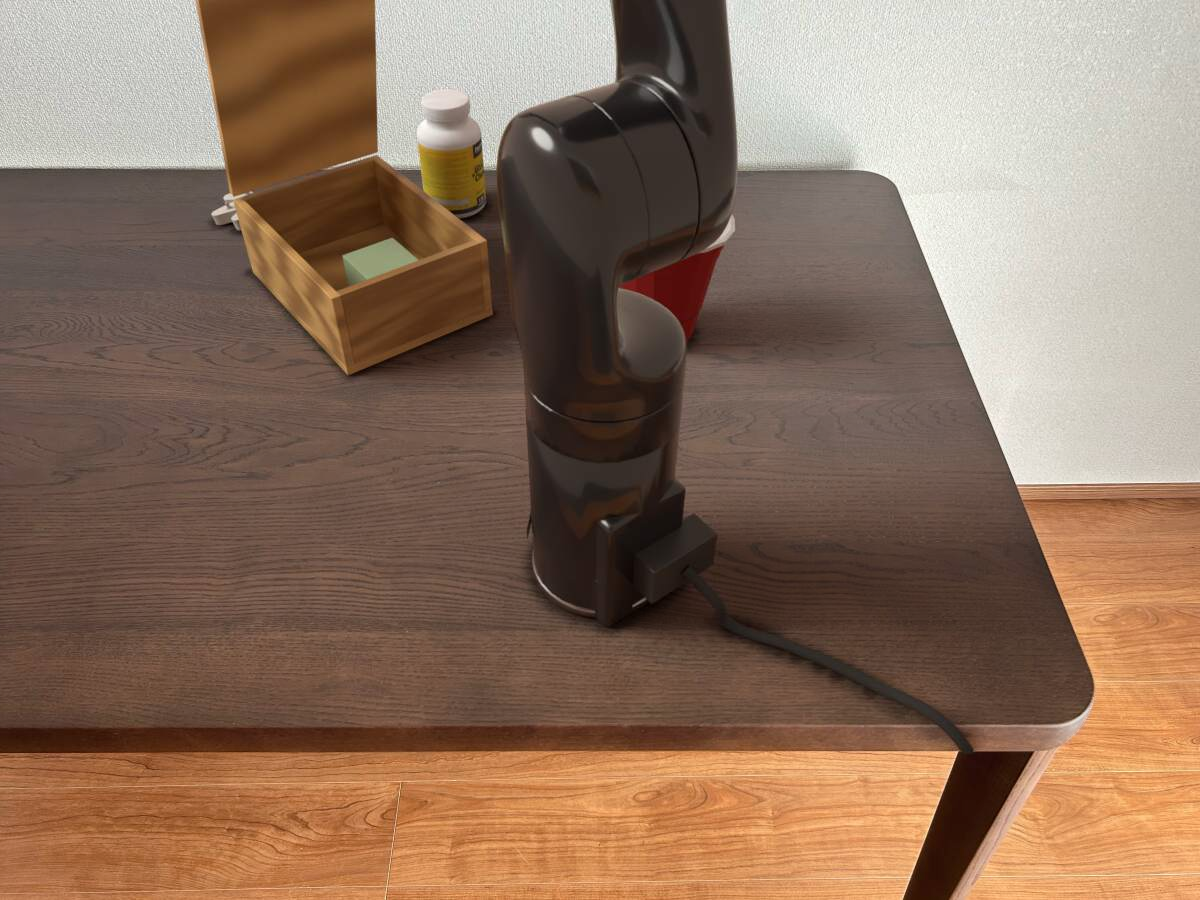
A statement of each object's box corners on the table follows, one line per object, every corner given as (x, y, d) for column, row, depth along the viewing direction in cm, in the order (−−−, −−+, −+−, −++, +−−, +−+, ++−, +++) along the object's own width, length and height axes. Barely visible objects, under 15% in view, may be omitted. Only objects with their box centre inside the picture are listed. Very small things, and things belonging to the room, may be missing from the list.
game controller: (205, 217, 100) (198, 194, 98) (302, 181, 106) (298, 159, 104) (232, 238, 97) (225, 215, 96) (331, 200, 103) (326, 177, 101)
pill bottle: (476, 224, 100) (467, 116, 92) (416, 217, 101) (402, 109, 93) (494, 194, 104) (486, 88, 96) (436, 187, 105) (424, 82, 97)
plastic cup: (746, 346, 86) (764, 226, 77) (641, 383, 82) (648, 261, 73) (679, 285, 92) (689, 168, 84) (579, 317, 88) (579, 198, 80)
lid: (374, -56, 77) (369, -61, 77) (195, -20, 70) (190, -26, 71) (378, 152, 94) (374, 147, 94) (233, 197, 87) (229, 192, 87)
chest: (493, 314, 88) (487, 240, 83) (348, 375, 82) (331, 298, 76) (387, 225, 100) (376, 154, 94) (252, 272, 93) (232, 199, 88)
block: (427, 308, 88) (420, 261, 84) (377, 328, 85) (369, 280, 82) (399, 284, 90) (392, 237, 87) (351, 302, 88) (341, 255, 85)
